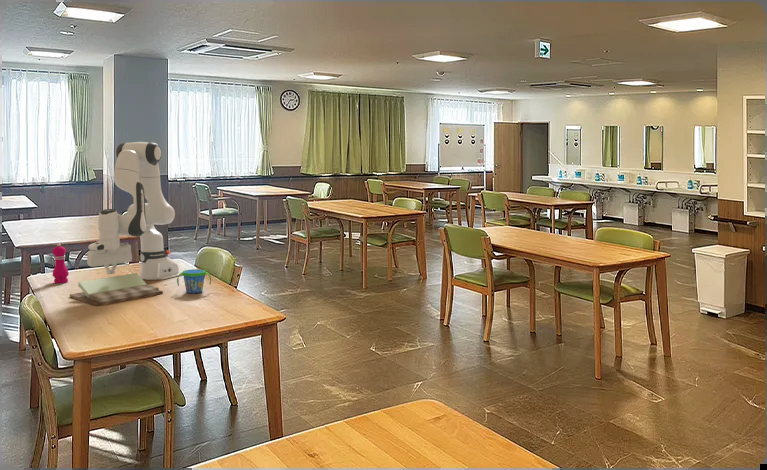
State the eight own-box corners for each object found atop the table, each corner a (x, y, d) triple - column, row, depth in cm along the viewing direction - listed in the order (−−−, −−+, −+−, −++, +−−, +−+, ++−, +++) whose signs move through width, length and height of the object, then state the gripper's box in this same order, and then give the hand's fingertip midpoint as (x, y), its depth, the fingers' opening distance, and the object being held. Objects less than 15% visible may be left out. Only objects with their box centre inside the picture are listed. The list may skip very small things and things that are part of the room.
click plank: (135, 276, 318) (136, 273, 317) (146, 287, 313) (146, 284, 312) (78, 285, 297) (78, 282, 296) (88, 297, 292) (88, 294, 291)
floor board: (135, 285, 323) (134, 279, 323) (162, 293, 307) (162, 287, 307) (69, 296, 299) (69, 290, 299) (96, 306, 283) (95, 298, 283)
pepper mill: (72, 281, 332) (69, 242, 329) (63, 284, 325) (61, 244, 322) (58, 280, 333) (56, 241, 330) (50, 283, 326) (47, 244, 323)
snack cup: (212, 289, 317) (212, 268, 316) (210, 294, 307) (209, 273, 306) (179, 290, 315) (178, 269, 314) (175, 295, 305) (174, 273, 304)
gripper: (127, 241, 313) (128, 269, 314) (84, 246, 297) (86, 275, 299) (134, 242, 308) (135, 271, 310) (91, 247, 293) (92, 277, 295)
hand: (110, 273), depth 304 cm, fingers closed
